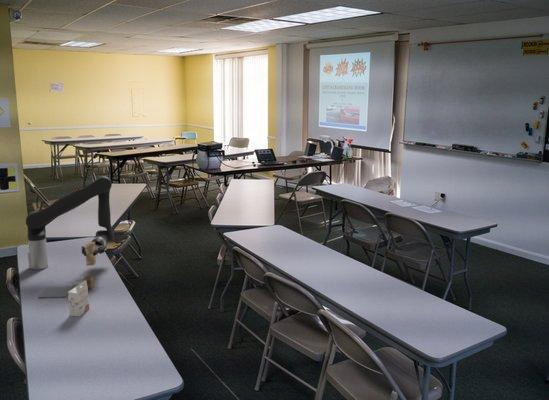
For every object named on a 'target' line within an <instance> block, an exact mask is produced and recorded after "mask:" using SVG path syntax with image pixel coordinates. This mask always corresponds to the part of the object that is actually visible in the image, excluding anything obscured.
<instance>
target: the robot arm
mask: <svg viewBox="0 0 549 400" xmlns="http://www.w3.org/2000/svg"><path fill="white" fill-rule="evenodd" d="M112 185H113V184H112V180H111V178H109V177H108V176H106V175H101V176H100V175H99V176H98V177H97V179H95V180H94V181H93V182H91V183H89V184H88V185H87V186H85V187H81V188H79V189H76V190H73V191H71V192H68V193H67V194H65V195H63V196H61V197H59V198H58V199H57V200H55V201H54V202H52V203H51V204H50V205H48V206H47V207H45V208H43V209H41V210H32V211H30V212H28V214H27V216H26V219H25V225H26V228H27V243H28V252H27V258H28V260H27V261H28V268H29V270H35V271H39V270H44V269H46V268H48V267H49V260H48V258H49V257H48V248H47V247H48V246H47V235H46V231H47V230H46V224H47V223H49V222H50V221H52V220H53V219H55V218H58V217H61V216H62V215H65V214H66V213H69V212H71V211H72V210H74V209H77V208H78V207H80V206H82V205H83V204H85V203H87V202H88V201H89V200H91V199H92V198H94V197H97V198H98V203H97V204H98V207H97V208H98V209H97V221H98V222H97V224H98V226H99V227H101V228H104V229H106V230H97V231H96V232H95V237H94V238H93V239H91V241H90V242H95V249H96V250H95V251H94V252H93V256H95V255H96V256H97V255H98V254H103V253H105V252H107V250H108V249H107V243H112V242H113V241H114V239H115V234H114V231H113V228H112V224H111V223H112V222H111V217H112V216H111V207H110V193H111V189H112ZM81 253H82V255H83V256H84V257H86V247H85V246H84V245H83V246H81Z"/></svg>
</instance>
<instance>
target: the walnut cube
mask: <svg viewBox="0 0 549 400" xmlns="http://www.w3.org/2000/svg"><path fill="white" fill-rule="evenodd" d="M81 280H86V281H87V286H88V290H93V288H94V287H95V276H84V277H82V279H81Z"/></svg>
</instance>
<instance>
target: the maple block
mask: <svg viewBox="0 0 549 400" xmlns="http://www.w3.org/2000/svg"><path fill="white" fill-rule="evenodd" d="M84 245H85V246H84V247H86V256H85V260H86V261H85V262H86V266H95V265H96V264H97V255H95V256H93V252H94V251H95V250H96V249H95V242H91V241H87V242H85V244H84Z"/></svg>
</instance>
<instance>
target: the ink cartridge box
mask: <svg viewBox="0 0 549 400" xmlns="http://www.w3.org/2000/svg"><path fill="white" fill-rule="evenodd" d="M81 285H83V286H81ZM67 297H68V298H67V299H68V309H69V316H71V317H81V316H82V315H83V314H84V313H86V312H87V311H88V310H89V309H90V303H89V302H90V301H89V299H90V298H89V289H88V286H87V281H84V282H82V283H81V284H79V285H78V286H76V287H75V288H74V289H72V290H70V291H69V292H68V295H67Z"/></svg>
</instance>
